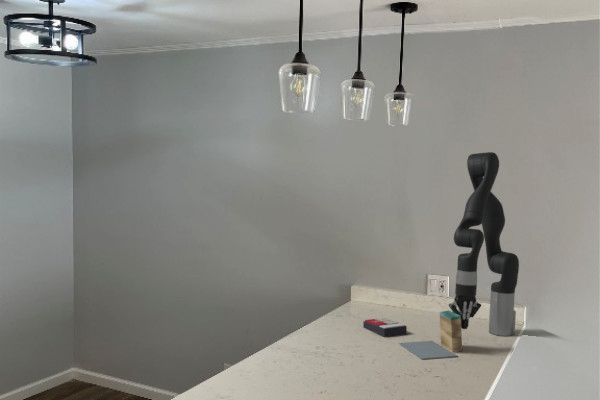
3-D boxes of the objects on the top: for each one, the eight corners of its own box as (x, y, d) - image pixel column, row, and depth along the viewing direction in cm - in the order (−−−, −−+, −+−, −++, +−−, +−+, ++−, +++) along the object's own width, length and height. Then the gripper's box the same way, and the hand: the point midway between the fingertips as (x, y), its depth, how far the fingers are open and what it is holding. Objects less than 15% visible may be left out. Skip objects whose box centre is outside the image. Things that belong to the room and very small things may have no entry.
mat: (432, 341, 229) (432, 340, 228) (457, 356, 211) (457, 355, 211) (398, 343, 224) (398, 342, 224) (422, 359, 207) (422, 358, 207)
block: (450, 344, 225) (449, 310, 224) (462, 350, 217) (460, 315, 216) (441, 345, 224) (439, 311, 223) (452, 352, 216) (450, 317, 215)
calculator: (384, 316, 251) (407, 324, 237) (384, 326, 251) (407, 334, 237) (362, 319, 246) (384, 326, 232) (362, 329, 246) (384, 337, 232)
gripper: (476, 279, 226) (473, 325, 227) (445, 280, 222) (442, 326, 223) (487, 284, 219) (485, 330, 220) (456, 284, 215) (453, 332, 216)
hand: (463, 328), depth 221 cm, fingers closed
